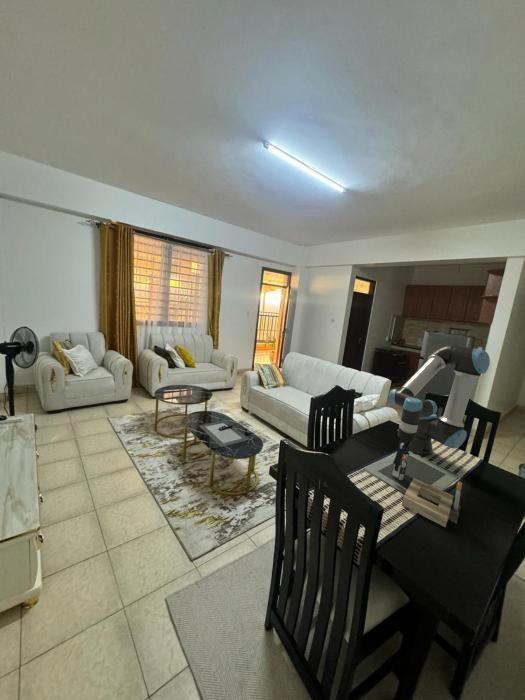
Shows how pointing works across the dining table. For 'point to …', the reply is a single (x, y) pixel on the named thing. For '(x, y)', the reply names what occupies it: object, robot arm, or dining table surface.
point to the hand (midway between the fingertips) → (398, 470)
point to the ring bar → (457, 496)
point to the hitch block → (428, 509)
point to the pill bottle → (401, 468)
